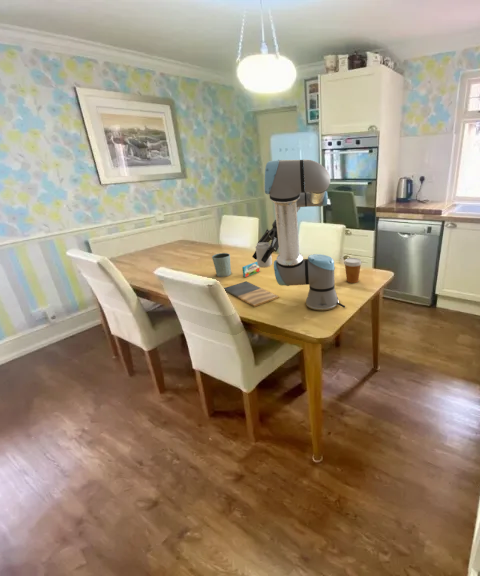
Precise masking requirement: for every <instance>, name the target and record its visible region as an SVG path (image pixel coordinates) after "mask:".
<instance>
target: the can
mask: <svg viewBox="0 0 480 576" xmlns="http://www.w3.org/2000/svg"><path fill="white" fill-rule="evenodd" d="M270 245H271V244H270V242H261V243H258V242H256V246H255V251H256V255H257V260H256V262H257V264H258V266H259V268H261V269H262V268H263V269H264V268H265V269H266V268H269V267H271V266H272V265H273V257H272V254H271V255H270V257H269V258H268V260H267V261H266V263H264V262H263V261H261V259H262V257H263V256H264V254H265V253H266V251H267V250H268V248H270Z"/></svg>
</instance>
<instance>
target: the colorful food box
mask: <svg viewBox="0 0 480 576" xmlns="http://www.w3.org/2000/svg"><path fill="white" fill-rule="evenodd" d="M241 268H242V276H243V277H244V278H247V277H250V276H252V275H255V274H257V273H260V272H261V269H260V268H261V267H259V266H258V264H257V261H255V262H252V263H248V264H247V265H244V266H242V267H241Z"/></svg>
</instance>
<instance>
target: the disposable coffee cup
mask: <svg viewBox="0 0 480 576" xmlns="http://www.w3.org/2000/svg"><path fill="white" fill-rule="evenodd" d="M343 264H344V269H345V276H346V277H345V278H346V282H347V283H349V284H355V283H358V282H359V279H360V272H361V265H362V260H361V259H360V258H358V257H348V258H346V259H344V262H343Z"/></svg>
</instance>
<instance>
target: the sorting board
mask: <svg viewBox="0 0 480 576" xmlns="http://www.w3.org/2000/svg"><path fill="white" fill-rule="evenodd" d="M223 288H224V289H225V291H224V292H226V293H227V294H230V295H231V296H234V297H235V298H237V299H239V300H241V301H243V302H245V303H247V304H248V305H250V306H252V307H254V308H256V307H258V306H261V305H264V304H266V303H269V302H272V301H274V300H276V299H279V295H277V294H275V293H273V292H270V291H268V290H266V289H264V288H262V287H259V286H258V285H255V284H253V283H251V282H248V281H247V280H246V281H242V282H240V283H235V284H233V285H229V286H225V287H223Z"/></svg>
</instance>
